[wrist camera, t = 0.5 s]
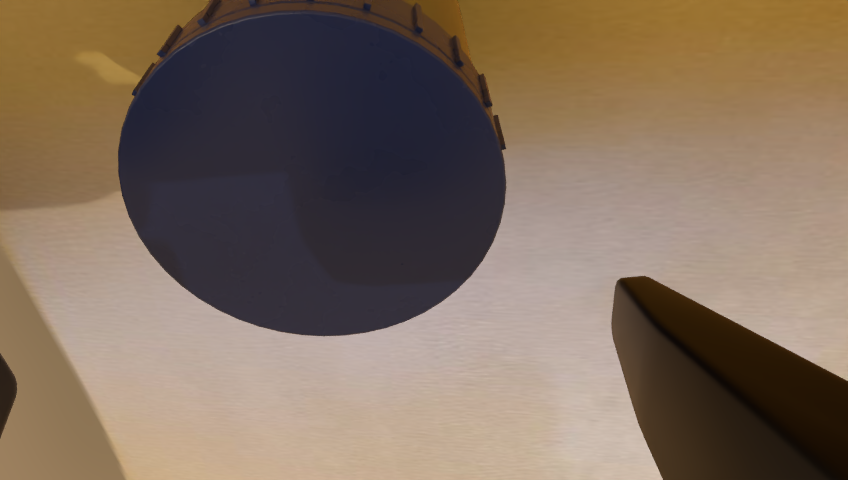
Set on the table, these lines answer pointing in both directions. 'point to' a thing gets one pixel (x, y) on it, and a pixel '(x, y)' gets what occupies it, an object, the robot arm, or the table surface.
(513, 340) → the table surface
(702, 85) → the table surface
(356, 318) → the lid
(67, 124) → the table surface
